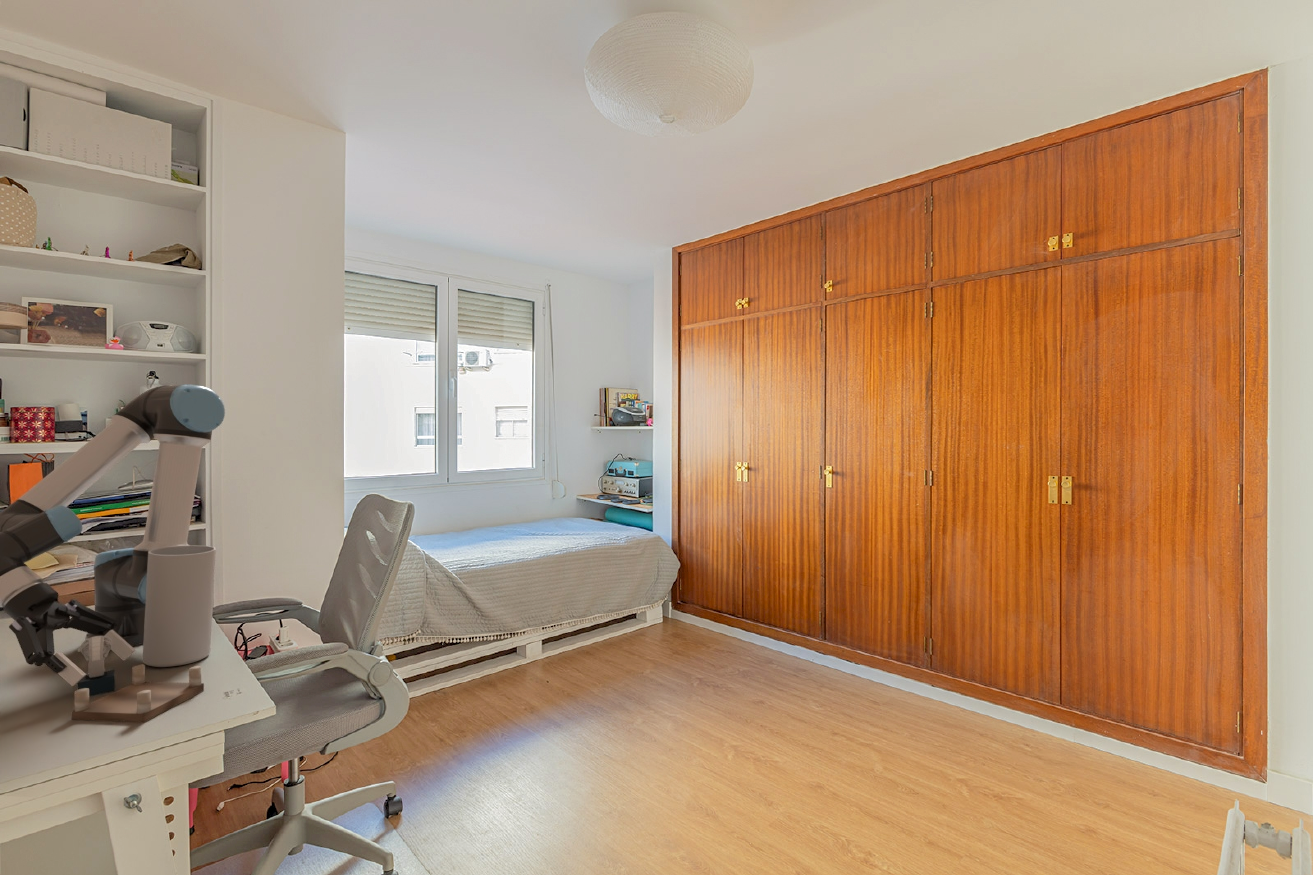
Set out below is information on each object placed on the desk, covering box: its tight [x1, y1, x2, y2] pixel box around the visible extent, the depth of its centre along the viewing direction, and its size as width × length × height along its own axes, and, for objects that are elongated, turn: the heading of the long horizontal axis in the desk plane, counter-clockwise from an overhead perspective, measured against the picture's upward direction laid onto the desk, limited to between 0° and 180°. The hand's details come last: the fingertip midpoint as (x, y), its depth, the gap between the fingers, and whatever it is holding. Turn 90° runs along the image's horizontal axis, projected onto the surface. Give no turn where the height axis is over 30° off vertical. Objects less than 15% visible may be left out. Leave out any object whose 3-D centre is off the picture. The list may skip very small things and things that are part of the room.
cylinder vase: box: [142, 544, 217, 668], centre depth 146 cm, size 12×12×25 cm
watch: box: [77, 636, 116, 697], centre depth 128 cm, size 6×8×11 cm
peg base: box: [70, 663, 205, 723], centre depth 122 cm, size 14×14×5 cm
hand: (106, 667), depth 128 cm, fingers open, 13 cm apart
